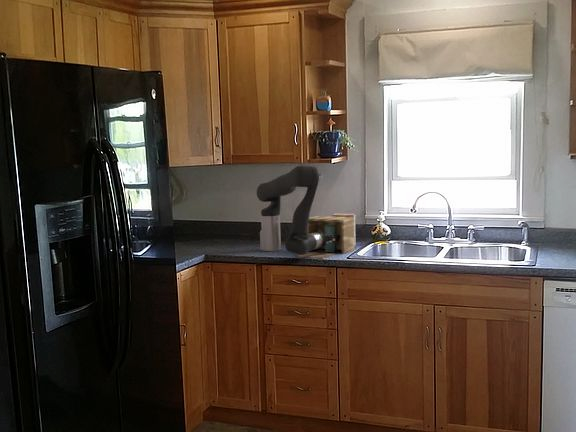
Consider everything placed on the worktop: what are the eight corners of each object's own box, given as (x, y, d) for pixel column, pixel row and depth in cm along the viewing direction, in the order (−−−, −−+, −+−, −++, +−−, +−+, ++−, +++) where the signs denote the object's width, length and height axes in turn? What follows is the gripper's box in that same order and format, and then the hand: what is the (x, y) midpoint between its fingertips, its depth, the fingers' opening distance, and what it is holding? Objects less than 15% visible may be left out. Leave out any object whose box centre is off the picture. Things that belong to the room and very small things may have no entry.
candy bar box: (332, 247, 354) (331, 214, 353) (334, 245, 359) (333, 213, 357) (354, 247, 351) (353, 214, 350) (356, 245, 356) (355, 213, 354)
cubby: (307, 251, 343) (306, 218, 342) (318, 247, 353) (317, 215, 351) (344, 253, 333) (343, 220, 331) (354, 250, 343) (353, 217, 341)
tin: (323, 251, 342) (323, 226, 340) (328, 249, 346) (327, 225, 345) (332, 251, 339) (331, 227, 338) (336, 250, 343) (336, 225, 342)
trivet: (295, 256, 328) (295, 255, 328) (308, 252, 339) (308, 251, 338) (322, 258, 321) (322, 257, 321) (334, 254, 331) (334, 253, 331)
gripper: (328, 233, 325) (344, 229, 339) (301, 232, 332) (318, 227, 346) (328, 249, 326) (344, 244, 340) (301, 247, 333) (318, 243, 347)
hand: (331, 236), depth 343 cm, fingers open, 8 cm apart
